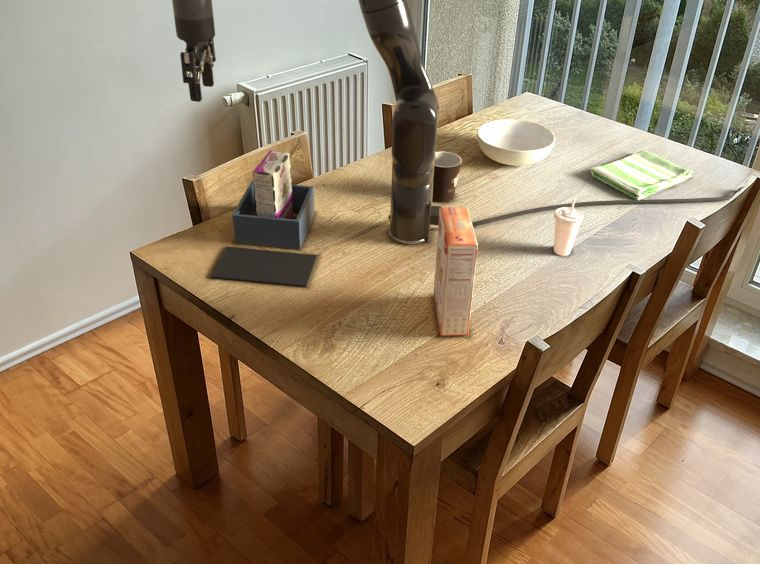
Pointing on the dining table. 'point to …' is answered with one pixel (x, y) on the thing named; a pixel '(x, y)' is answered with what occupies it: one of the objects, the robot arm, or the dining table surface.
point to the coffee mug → (445, 176)
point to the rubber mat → (265, 266)
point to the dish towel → (641, 174)
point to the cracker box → (454, 270)
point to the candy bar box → (274, 186)
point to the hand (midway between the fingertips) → (202, 93)
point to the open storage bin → (274, 221)
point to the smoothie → (566, 228)
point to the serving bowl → (515, 141)
